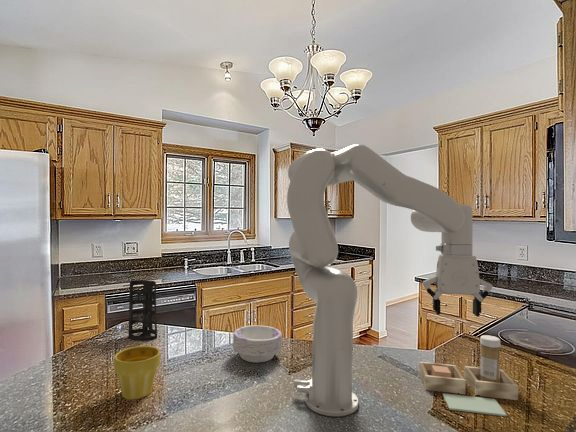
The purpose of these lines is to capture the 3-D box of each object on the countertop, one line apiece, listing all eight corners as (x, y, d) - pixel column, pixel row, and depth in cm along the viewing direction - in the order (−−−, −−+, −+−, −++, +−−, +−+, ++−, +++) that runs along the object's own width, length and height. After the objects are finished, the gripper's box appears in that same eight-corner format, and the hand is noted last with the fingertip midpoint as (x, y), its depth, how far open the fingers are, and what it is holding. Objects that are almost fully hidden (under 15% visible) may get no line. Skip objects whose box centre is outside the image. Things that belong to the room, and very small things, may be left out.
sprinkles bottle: (503, 390, 90) (503, 338, 90) (494, 394, 88) (495, 341, 88) (485, 383, 94) (485, 333, 94) (476, 387, 92) (476, 336, 92)
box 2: (475, 395, 87) (475, 381, 87) (464, 378, 97) (464, 365, 97) (518, 400, 85) (518, 385, 85) (502, 382, 95) (502, 369, 95)
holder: (122, 340, 121) (124, 283, 121) (132, 333, 129) (133, 279, 129) (154, 341, 121) (155, 283, 121) (162, 333, 129) (163, 280, 129)
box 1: (425, 389, 90) (425, 376, 90) (419, 373, 99) (419, 361, 99) (465, 394, 88) (465, 380, 88) (455, 377, 97) (455, 365, 97)
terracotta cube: (434, 386, 92) (434, 371, 92) (431, 379, 96) (431, 365, 96) (450, 388, 91) (450, 373, 91) (446, 381, 95) (447, 366, 95)
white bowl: (290, 360, 107) (291, 334, 107) (246, 371, 98) (247, 343, 98) (265, 345, 120) (266, 322, 120) (224, 353, 111) (225, 329, 111)
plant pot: (130, 409, 78) (131, 365, 78) (104, 395, 83) (105, 355, 83) (168, 390, 87) (169, 351, 87) (142, 379, 92) (143, 342, 92)
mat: (449, 409, 80) (449, 407, 80) (442, 394, 87) (442, 393, 87) (506, 416, 78) (506, 414, 78) (494, 400, 85) (494, 399, 85)
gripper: (425, 251, 91) (425, 316, 91) (497, 252, 88) (497, 320, 88) (420, 248, 98) (420, 309, 98) (486, 250, 95) (486, 312, 95)
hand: (456, 314), depth 93 cm, fingers open, 9 cm apart
